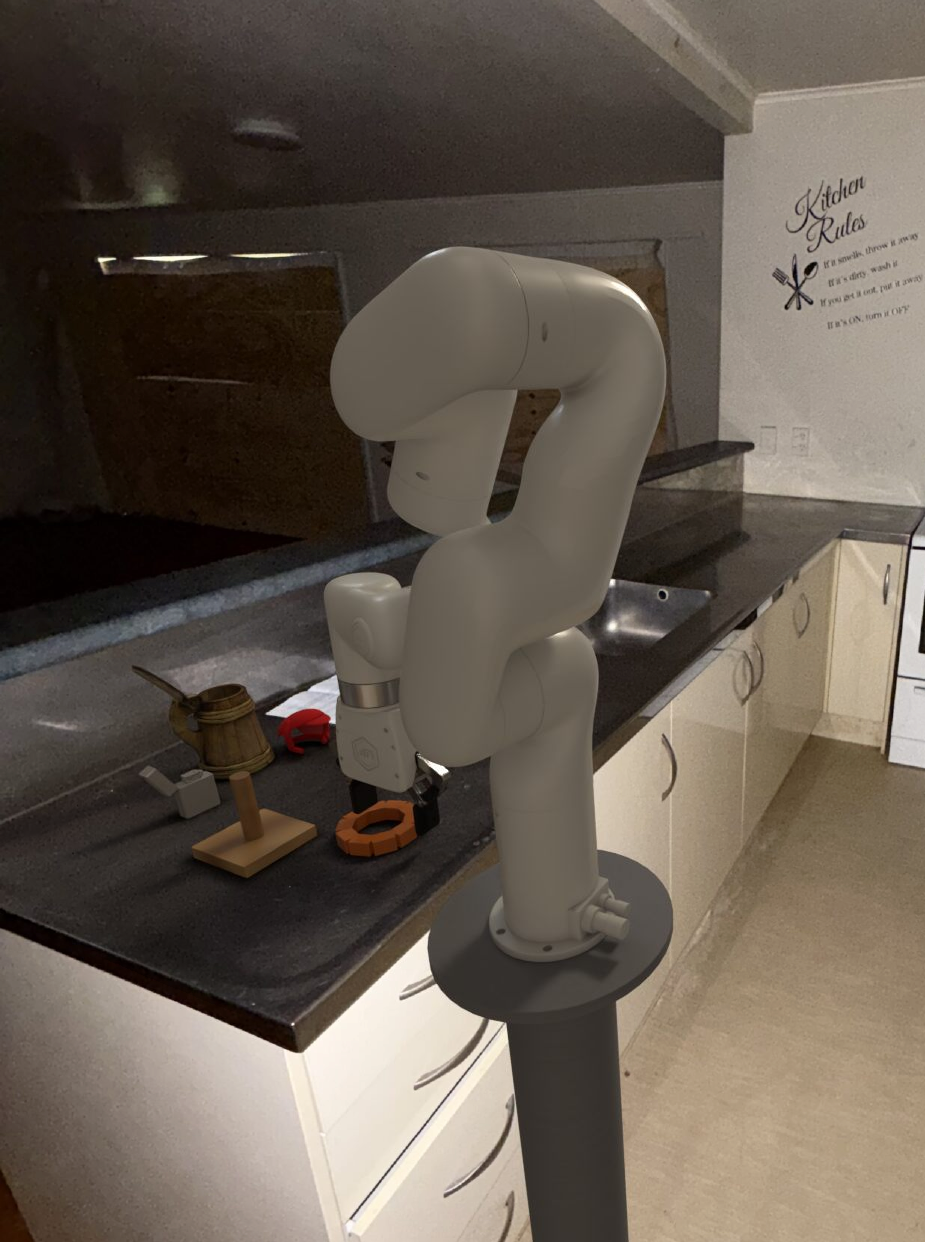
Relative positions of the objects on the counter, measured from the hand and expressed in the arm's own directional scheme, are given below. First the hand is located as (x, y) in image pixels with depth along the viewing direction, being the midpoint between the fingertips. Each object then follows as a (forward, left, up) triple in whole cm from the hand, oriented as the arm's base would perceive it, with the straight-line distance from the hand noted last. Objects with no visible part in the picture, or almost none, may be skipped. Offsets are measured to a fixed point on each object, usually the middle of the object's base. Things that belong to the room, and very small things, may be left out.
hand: (396, 818), depth 88 cm
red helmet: (+30, -12, -3) cm, 32 cm away
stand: (+14, +8, -3) cm, 16 cm away
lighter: (+28, +7, -3) cm, 29 cm away
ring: (+3, 0, -3) cm, 4 cm away
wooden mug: (+35, -2, -3) cm, 35 cm away
